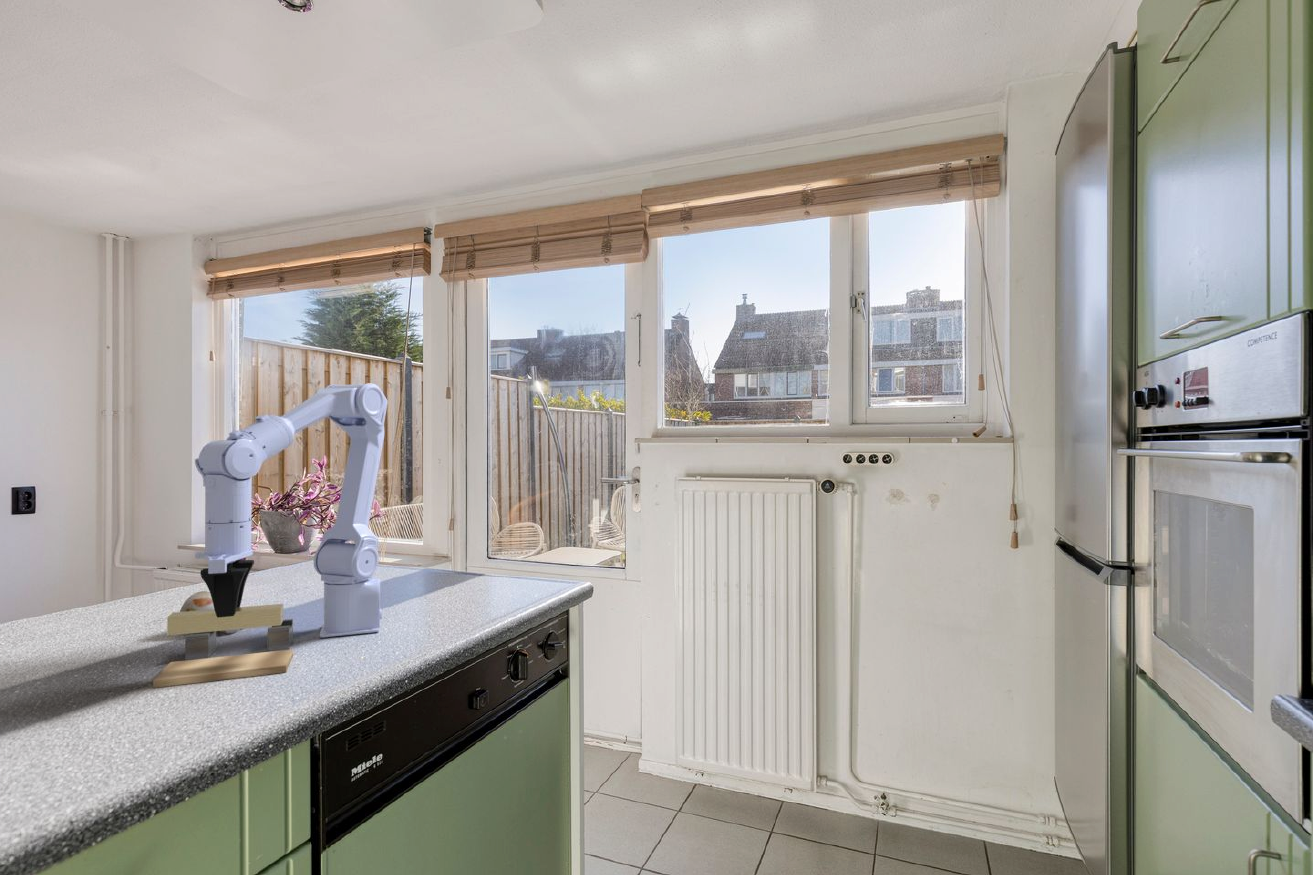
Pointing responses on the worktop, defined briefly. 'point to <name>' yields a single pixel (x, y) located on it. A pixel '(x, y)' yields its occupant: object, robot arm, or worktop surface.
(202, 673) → the board
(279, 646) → the post
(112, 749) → the worktop surface
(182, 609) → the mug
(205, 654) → the post
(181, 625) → the rail
